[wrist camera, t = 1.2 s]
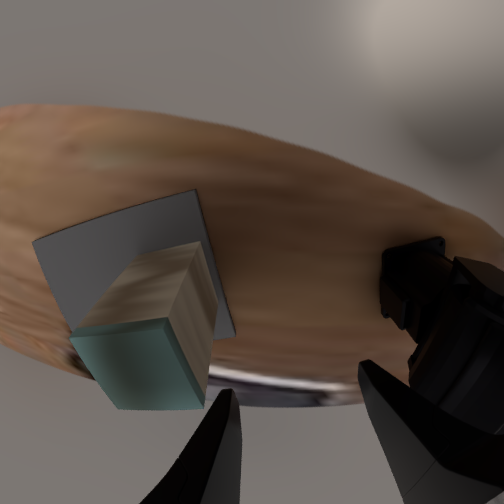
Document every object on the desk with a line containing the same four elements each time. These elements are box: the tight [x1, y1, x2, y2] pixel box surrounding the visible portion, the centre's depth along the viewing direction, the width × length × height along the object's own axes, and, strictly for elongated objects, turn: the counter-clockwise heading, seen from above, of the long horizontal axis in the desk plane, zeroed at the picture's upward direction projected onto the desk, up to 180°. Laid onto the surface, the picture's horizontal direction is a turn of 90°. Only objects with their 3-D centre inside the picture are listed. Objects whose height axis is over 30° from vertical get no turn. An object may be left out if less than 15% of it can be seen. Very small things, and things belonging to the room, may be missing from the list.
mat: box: [32, 189, 236, 340], centre depth 21 cm, size 16×12×1 cm
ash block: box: [69, 241, 218, 410], centre depth 15 cm, size 5×5×10 cm
